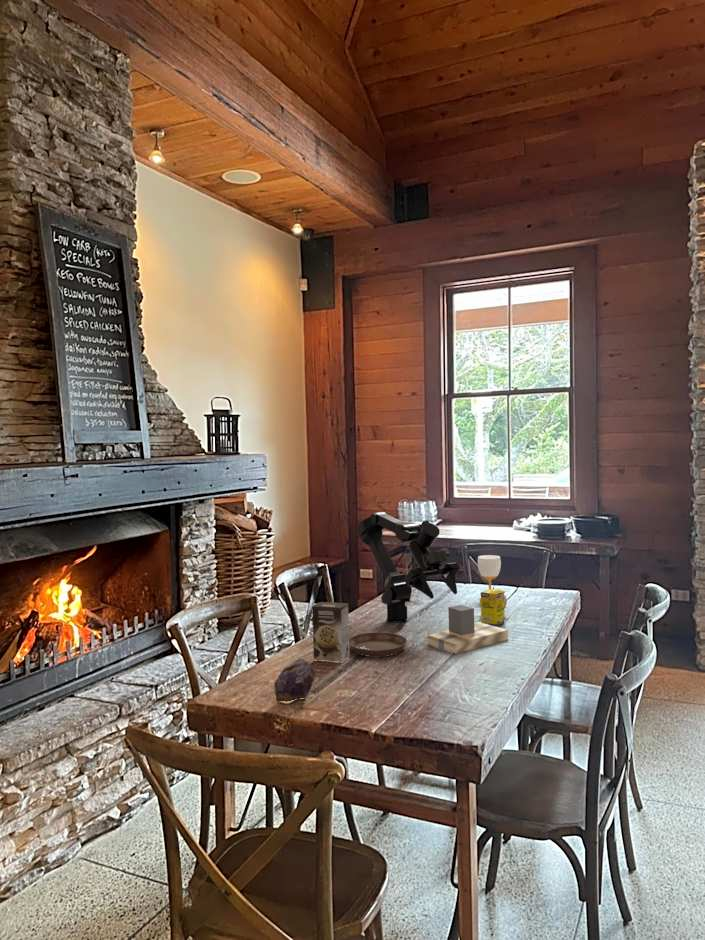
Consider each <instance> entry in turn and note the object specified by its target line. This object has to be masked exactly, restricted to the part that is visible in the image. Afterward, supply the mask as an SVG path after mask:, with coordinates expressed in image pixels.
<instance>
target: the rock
mask: <svg viewBox="0 0 705 940" xmlns="http://www.w3.org/2000/svg"><path fill="white" fill-rule="evenodd" d="M315 676H316V672H315V670H314V668H313V667H312V665H311V664H310V663H309V662H308V661H307V660H306V659H303V658H299V659H295V660H294V661H292V662H291V663H290V664H289V665H286V666H284V668H283V670H282V671H281V672H280V674H279V675H278V676H277V679H275V681H274V694H275V700H276V702H277V701H286V702H287V701H291V700H295V699H300V698H305V697H306V698H307V696H308V694H309V692H310V690H312V687H313V682H314V679H315ZM306 698H305V699H306Z"/></svg>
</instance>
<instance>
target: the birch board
mask: <svg viewBox="0 0 705 940" xmlns="http://www.w3.org/2000/svg"><path fill="white" fill-rule="evenodd" d="M474 629H475V635H471V636H466V637H459V636H456V635H453V634H450V633H449V629H448V630H443V631H440V632H439V631H438V632H436V633H432V634H431V633H430V634H427V646H429V645H430V646H431V647H432V648H436V649H439V648H440V649H439V650H442V649H443V650H442V651H445V650H446V651H445V652H448V653H450V654H454V653H455V654H454V655H457V654H462V653H464V652H469V651H472V650H475V649H478V648H482V647H486V646H489V645H492V644H496V643H500V642H504V641H508V640H509V630H508V629H506V628H503V627H499V626H497V627H495V626H492V625H488V624H484V623H481V621H479V622H476V623H475V622H474ZM507 639H508V640H507Z"/></svg>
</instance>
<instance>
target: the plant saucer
mask: <svg viewBox="0 0 705 940" xmlns="http://www.w3.org/2000/svg"><path fill="white" fill-rule="evenodd" d="M407 641H408V639H407V638H406V637H405V636H403V635H400V634H397V633H392V632H382V631H381V632H379V631H378V632H377V631H376V632H375V631H374V632H364V633H360V634H356V635H353V636H351V637H349V648H351V650H352V651H353V652H354V651H355V652H354V653H356V652H357V653H359V654H358V655H360V654H363V655H369V656H368V657H371V656H381V657H388V656H387V655H389V656H392V655H391V654H393V655H396V654H398V653H400V652H401V651H402V650H403V649H404V647H405V646H406V644H407ZM363 646H365V648H369V649H370V650H368V649H361V648H360V647H363ZM357 647H358V648H357ZM399 651H400V652H399ZM357 653H356V654H357ZM395 653H396V654H395ZM363 655H362V656H363Z"/></svg>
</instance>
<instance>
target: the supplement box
mask: <svg viewBox="0 0 705 940" xmlns="http://www.w3.org/2000/svg"><path fill="white" fill-rule="evenodd" d="M501 590H502V589H499V590H496V589H494V590H493V588H491V589H489V588H488V589H486V590H484V591H480V596H481V604H480V620H481V621H480V623H484V624H488V625H492V626H495V627H499V626H500V625H502V624H505V609H504V595H505V593H504V592H505V591H504V590H502V591H501Z"/></svg>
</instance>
